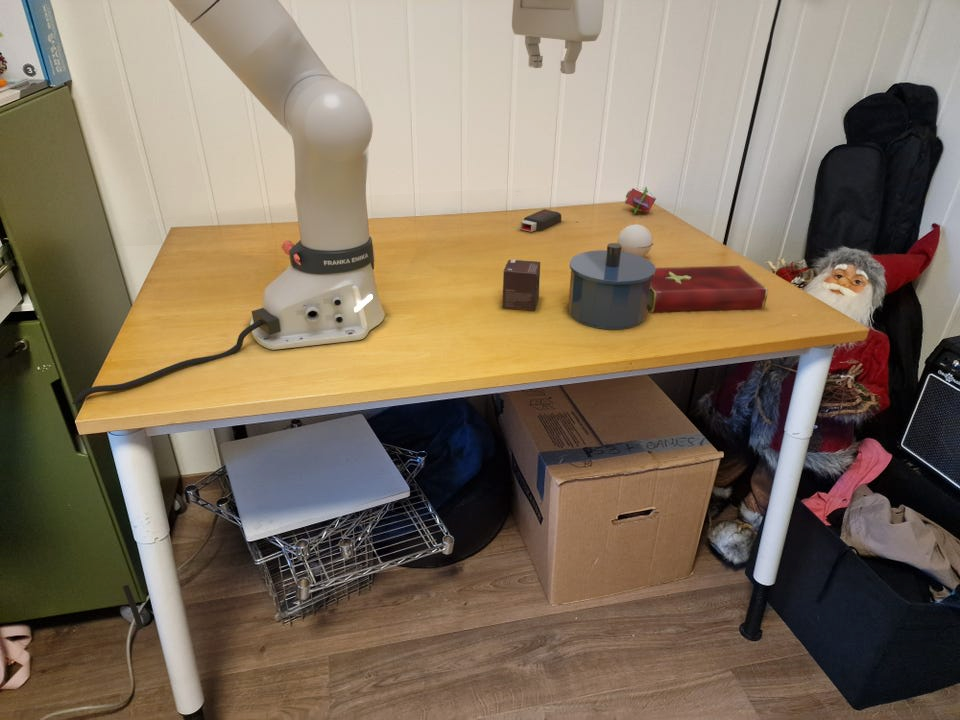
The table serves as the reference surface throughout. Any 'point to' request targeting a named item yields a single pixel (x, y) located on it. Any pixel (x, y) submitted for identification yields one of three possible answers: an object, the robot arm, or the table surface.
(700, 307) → the hardcover book
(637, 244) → the white sphere
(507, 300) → the box
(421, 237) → the table surface
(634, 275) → the pot lid
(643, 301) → the pot
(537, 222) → the usb drive
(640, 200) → the red gift box
